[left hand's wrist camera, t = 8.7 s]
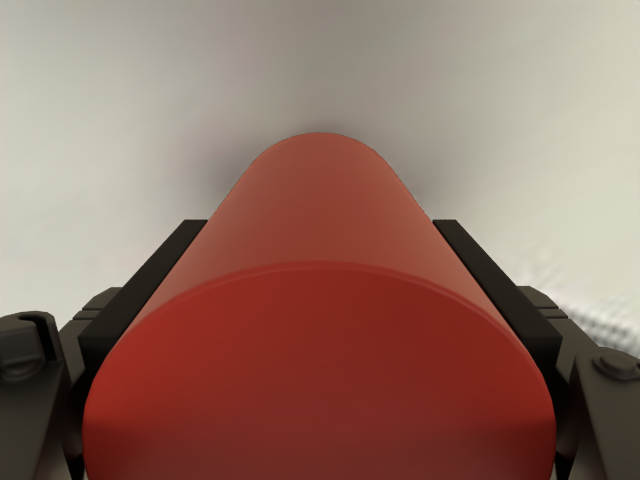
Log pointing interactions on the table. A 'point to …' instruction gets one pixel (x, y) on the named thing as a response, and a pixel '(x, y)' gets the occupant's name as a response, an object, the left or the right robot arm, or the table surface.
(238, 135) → the table surface
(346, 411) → the canister
